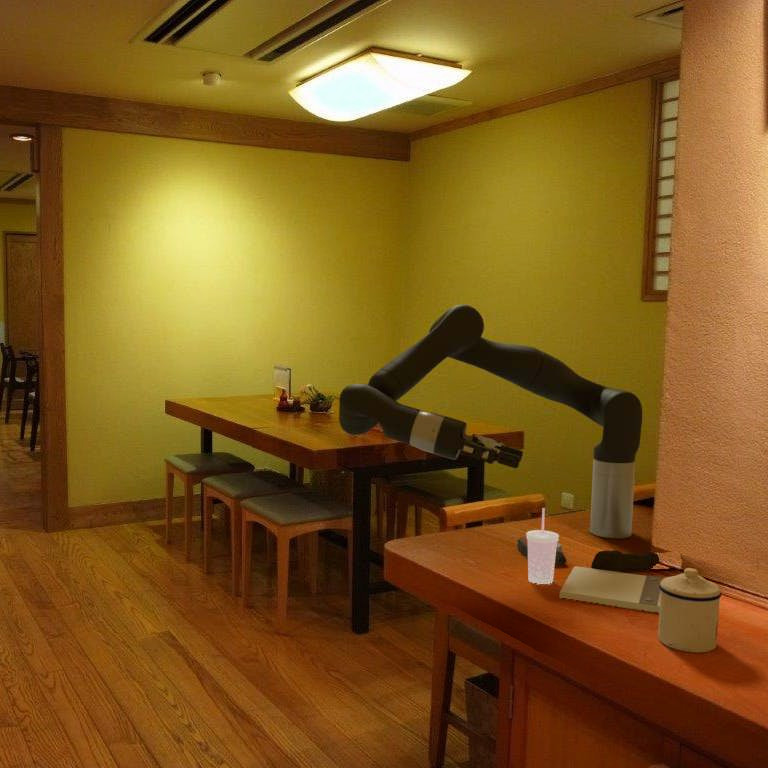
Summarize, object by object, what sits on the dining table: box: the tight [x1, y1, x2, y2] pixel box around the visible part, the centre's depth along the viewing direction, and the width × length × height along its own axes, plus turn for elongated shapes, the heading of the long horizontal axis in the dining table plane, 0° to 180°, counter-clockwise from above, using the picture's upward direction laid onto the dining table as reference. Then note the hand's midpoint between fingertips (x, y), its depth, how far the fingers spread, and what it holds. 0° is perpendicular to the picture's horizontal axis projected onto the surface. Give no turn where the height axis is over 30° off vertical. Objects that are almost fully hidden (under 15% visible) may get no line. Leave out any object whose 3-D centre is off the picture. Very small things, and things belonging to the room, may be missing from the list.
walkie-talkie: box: [516, 536, 568, 565], centre depth 177 cm, size 9×4×20 cm
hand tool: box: [590, 550, 659, 573], centre depth 166 cm, size 19×4×5 cm, turn 101°
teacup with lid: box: [657, 567, 722, 654], centre depth 132 cm, size 12×9×12 cm
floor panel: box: [559, 565, 666, 614], centre depth 152 cm, size 16×24×2 cm, turn 68°
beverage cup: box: [525, 507, 560, 585], centre depth 158 cm, size 6×6×14 cm
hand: (520, 459), depth 156 cm, fingers open, 8 cm apart
